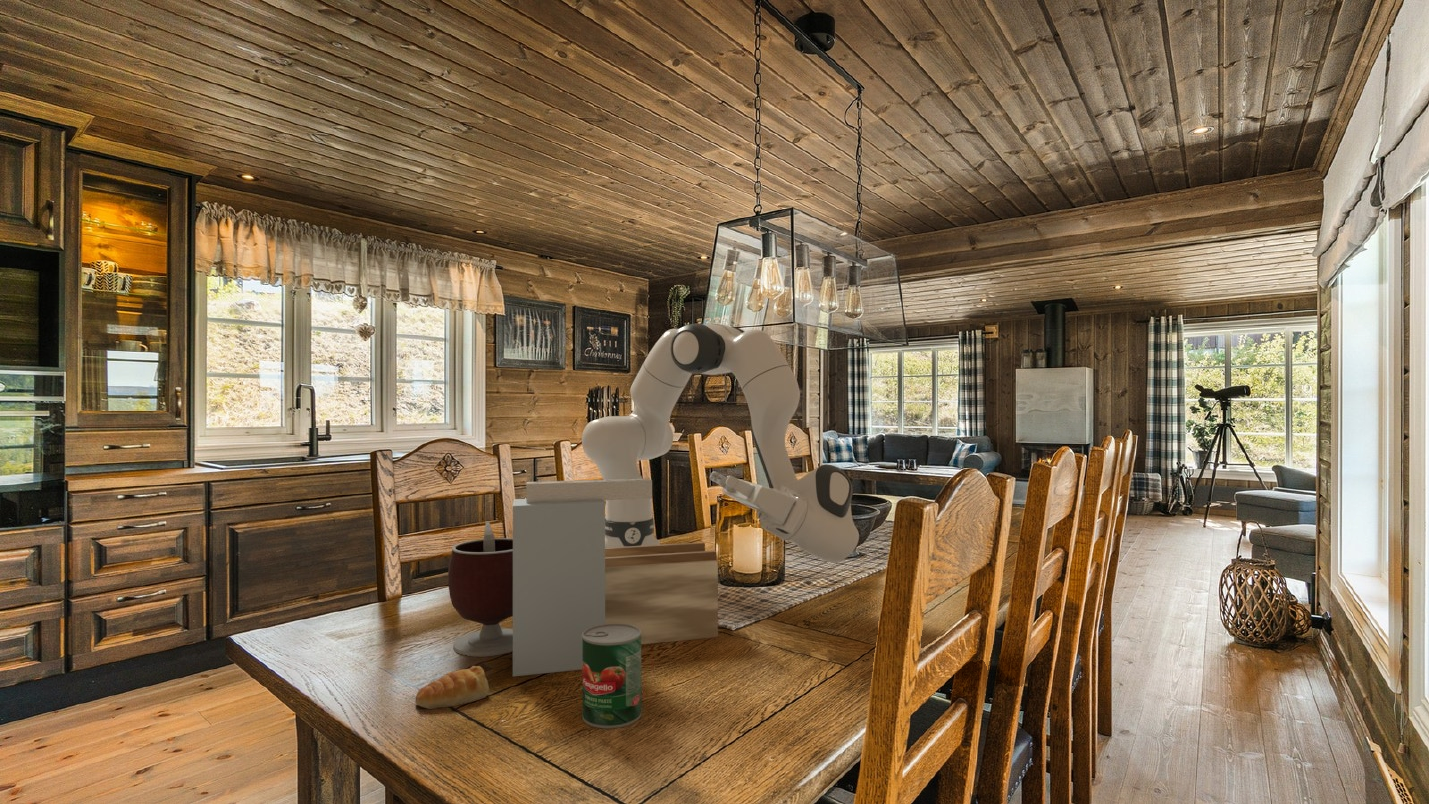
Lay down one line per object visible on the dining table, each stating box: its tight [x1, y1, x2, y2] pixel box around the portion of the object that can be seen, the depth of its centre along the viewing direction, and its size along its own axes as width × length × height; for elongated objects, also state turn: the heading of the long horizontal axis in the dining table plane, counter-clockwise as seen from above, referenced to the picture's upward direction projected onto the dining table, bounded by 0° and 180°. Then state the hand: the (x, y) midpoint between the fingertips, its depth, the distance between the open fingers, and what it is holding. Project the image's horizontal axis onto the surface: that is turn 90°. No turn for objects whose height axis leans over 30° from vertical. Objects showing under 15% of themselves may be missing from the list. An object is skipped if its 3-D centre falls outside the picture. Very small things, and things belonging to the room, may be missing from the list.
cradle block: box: [605, 541, 719, 645], centre depth 123 cm, size 11×23×15 cm, turn 106°
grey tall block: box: [512, 498, 606, 677], centre depth 109 cm, size 8×14×26 cm, turn 106°
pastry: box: [414, 665, 490, 710], centre depth 95 cm, size 9×7×4 cm
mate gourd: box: [447, 520, 513, 658], centre depth 118 cm, size 16×14×20 cm
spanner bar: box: [525, 478, 653, 503], centre depth 110 cm, size 3×20×3 cm, turn 106°
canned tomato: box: [581, 623, 643, 730], centre depth 90 cm, size 8×8×11 cm
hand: (718, 476), depth 123 cm, fingers open, 8 cm apart
